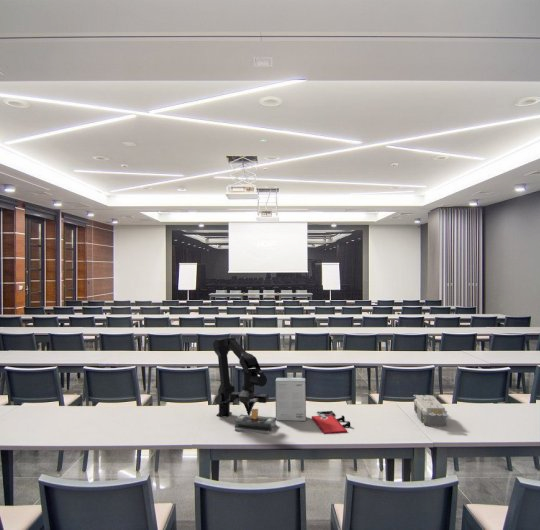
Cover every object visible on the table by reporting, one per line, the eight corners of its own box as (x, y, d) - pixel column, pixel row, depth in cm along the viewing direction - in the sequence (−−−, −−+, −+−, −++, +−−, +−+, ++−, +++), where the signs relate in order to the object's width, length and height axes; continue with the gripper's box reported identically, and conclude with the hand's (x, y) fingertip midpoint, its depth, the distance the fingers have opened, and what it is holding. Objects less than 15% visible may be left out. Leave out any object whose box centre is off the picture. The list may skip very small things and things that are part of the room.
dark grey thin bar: (235, 428, 199) (235, 426, 199) (269, 432, 195) (269, 430, 195) (233, 430, 197) (233, 428, 197) (267, 434, 192) (267, 432, 192)
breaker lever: (253, 416, 205) (253, 408, 205) (258, 417, 204) (258, 408, 204) (251, 418, 202) (251, 410, 202) (256, 419, 201) (256, 410, 201)
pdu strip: (241, 421, 210) (241, 414, 210) (275, 424, 205) (275, 417, 205) (234, 427, 201) (234, 419, 201) (270, 431, 196) (270, 423, 196)
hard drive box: (306, 416, 218) (306, 377, 218) (305, 421, 210) (305, 381, 211) (276, 415, 219) (276, 377, 220) (275, 420, 211) (275, 380, 212)
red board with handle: (335, 412, 225) (308, 414, 223) (335, 407, 225) (308, 408, 223) (355, 433, 195) (323, 435, 193) (354, 427, 195) (323, 429, 193)
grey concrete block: (431, 410, 226) (432, 392, 226) (452, 433, 198) (452, 412, 197) (409, 409, 227) (410, 391, 226) (427, 432, 198) (427, 411, 198)
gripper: (225, 385, 199) (224, 418, 199) (262, 388, 194) (262, 422, 193) (233, 380, 210) (233, 411, 209) (269, 382, 205) (269, 414, 204)
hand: (249, 415), depth 204 cm, fingers closed
